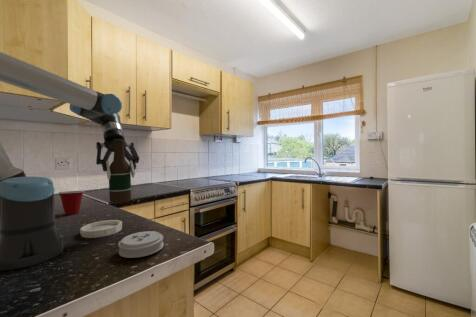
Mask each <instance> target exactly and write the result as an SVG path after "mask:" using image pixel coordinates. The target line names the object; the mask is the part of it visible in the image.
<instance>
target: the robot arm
mask: <svg viewBox="0 0 476 317" xmlns="http://www.w3.org/2000/svg"><path fill="white" fill-rule="evenodd" d="M0 82H1V83H5V84H7V85H11V86H14V87H17V88H19V89H22V90H23V89H24V90H25V91H30V92H32V93H36V94H38V95H41V96H45V97H48V98H51V99H53V100H56V101H61V102H63V103H67V104H69V111H71V112H72V113H74V114H76V115H77V116H80V117H82V118H84V119H86V120H89V121H91V122H93V123H95V124H97V125H99V126H101V128H102V134H103V140H104V141H103V142H99V141H97V142H96V144H95V145H96V146H95V148H96V150H97V151H96V152H97V153H96V159H95V161H96V162H95V163H96V164H95V165H99V166H100V165H101V167H102V171H103V172H106V176H107V177H106V178H107V180H109V179H110V176H111V173H110V162H109V159H110V157H111V155H112V153H114V142H113V141H114V139H123V140H124V143H123V145H124V155H125V160H126V161H127V162H128V164H129V166H130V172H131V178H135V174H136V169H137V164H139V162H140V156H139V154H138V152H137V150H136V148H135V143H134V142H131V143H127V141H126V139H125V135H124V131H123V127H122V122H121V116H120V114H119V113H120V112H121V111H122V108H123V103H122V100H121V98H119V96H117V94H113V93H102V92H99V91H97V90H94V89H93V88H90V87H87V86H85V85H82V84H80V83H77V82H74V81H72V80H70V79H68V78H65V77H63V76H60V75H57V74H55V73H53V72H51V71H49V70H46V69H44V68H40V67H38V66H35V64H34V65H33V64H32V63H31V64H30V63H28V62H26V61H23V60H21V59H19V58H16V57H14V56H12V55H9V54H7V53H4V52H2V51H0ZM126 147H127V148H128V150H127V148H126ZM103 148H105V149H106V152H105V154H104V155H103V158H102V156H101V155H102V149H103ZM101 158H102V159H101ZM55 192H56V191H55V187H54V182H53V180H52V179H50V178H48V177H43V176H27V175H26V174H25V172H24V170H23V169H22V168H18V167H16V166H14V165H13V163H12V160H11V159H10V157H9V156H8V154H7V152H6V150H5V148H4V146H3V144H2V143H1V142H0V271H12V270H13V271H14V270H17V269H24V268H29V267H31V266H35V265H39V264H41V263H44V262H48V261H49V260H51V259H54V258H56V257H58V256H59V255H60V254H62V253H63V251H64V242H63V240H61V236H60V235H59V232H58V230H57V227H56V214H55V213H56V211H55Z"/></svg>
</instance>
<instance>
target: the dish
mask: <svg viewBox="0 0 476 317" xmlns="http://www.w3.org/2000/svg"><path fill="white" fill-rule="evenodd" d="M122 230H123V221H122V220H119V219H108V220H100V221H95V222H92V223H91V222H90V223H88V224H85V225H83V226H81V227H80V229H79V233H80V237H82V238H84V239H97V238H103V237H108V236H112V235H116V234H117V233H119V232H121V231H122Z"/></svg>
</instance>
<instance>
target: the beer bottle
mask: <svg viewBox="0 0 476 317" xmlns="http://www.w3.org/2000/svg"><path fill="white" fill-rule="evenodd" d="M113 142H114V152H113V160H112V162H111V163H110V164H109V167H110V173H111V176H110V179H108V190H109V191H108V192H109V193H108V194H109V202H110V204H122V203H124V204H125V203H128V202H130V201H131V200H132V180H131V179H132V175H131V171H130V166H129V162H128V160H127V159H126V157H125V155H124V145H123V143H124V140H123V139H114V141H113Z"/></svg>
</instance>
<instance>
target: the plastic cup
mask: <svg viewBox="0 0 476 317" xmlns="http://www.w3.org/2000/svg"><path fill="white" fill-rule="evenodd" d="M84 192H85V190H68V191H67V190H65V191H58V194H59V197H60V200H61V204H62V205H61V206H62V208H63V212H64V215H65V216H73V215H79V213H80V208H81V205H82V204H81V203H82V199H83V195H84Z"/></svg>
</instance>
